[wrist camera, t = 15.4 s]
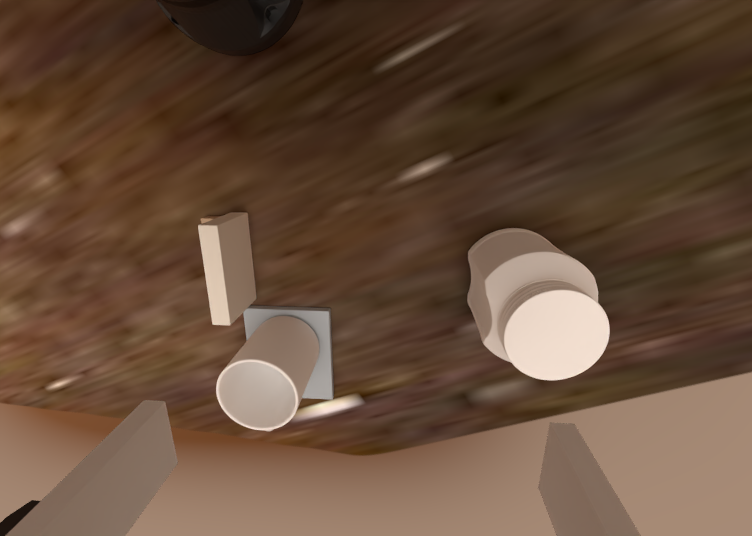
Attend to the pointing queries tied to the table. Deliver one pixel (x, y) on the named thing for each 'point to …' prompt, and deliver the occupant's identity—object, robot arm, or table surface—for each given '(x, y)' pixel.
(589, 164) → the table surface
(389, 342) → the table surface
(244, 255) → the beige block
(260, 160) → the table surface
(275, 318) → the mug
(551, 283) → the jar
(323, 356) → the plate
